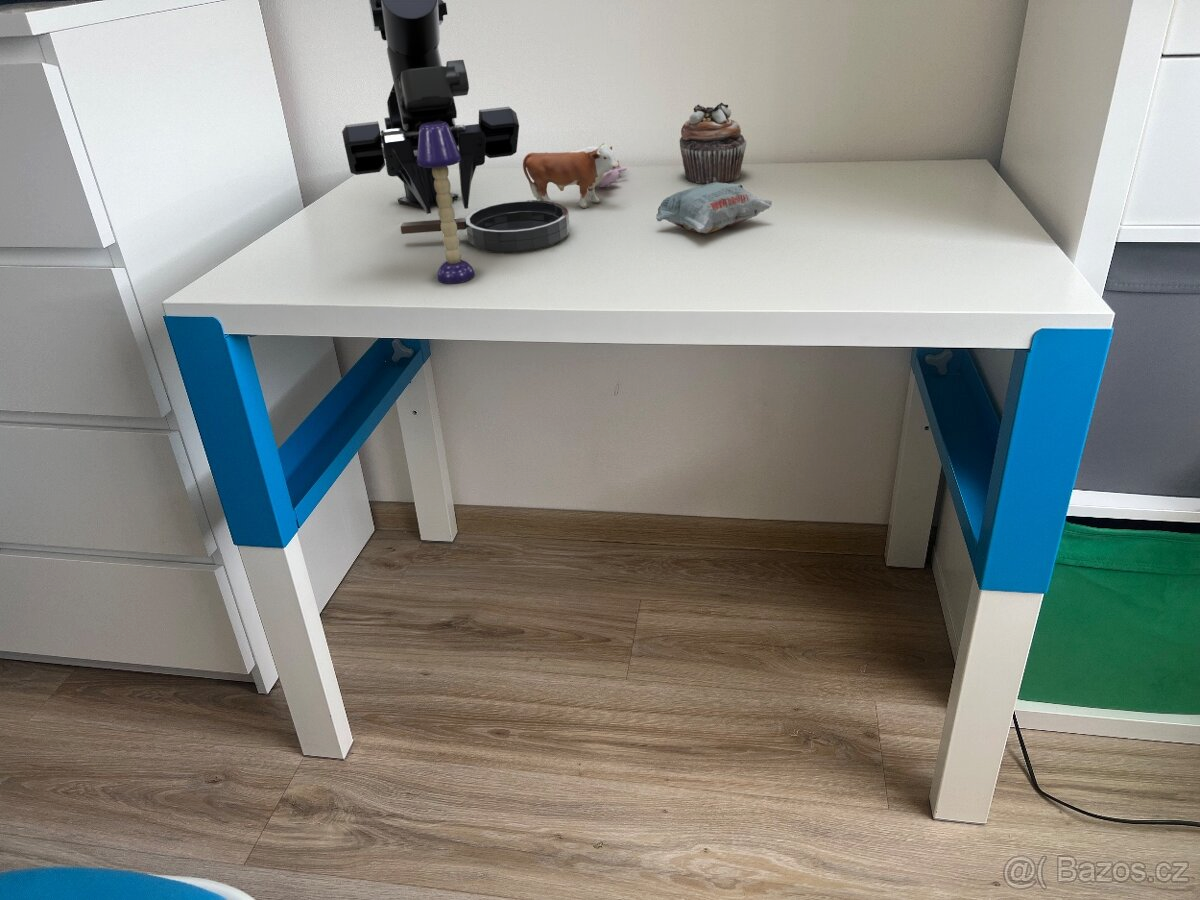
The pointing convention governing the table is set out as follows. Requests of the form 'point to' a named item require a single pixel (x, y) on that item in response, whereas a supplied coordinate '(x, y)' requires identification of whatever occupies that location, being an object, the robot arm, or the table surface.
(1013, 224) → the table surface
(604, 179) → the rabbit figure
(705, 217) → the packaged food
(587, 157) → the bull figurine
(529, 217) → the pan
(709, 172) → the cupcake
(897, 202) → the table surface
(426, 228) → the pan handle
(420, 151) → the toy lamp
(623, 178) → the table surface
